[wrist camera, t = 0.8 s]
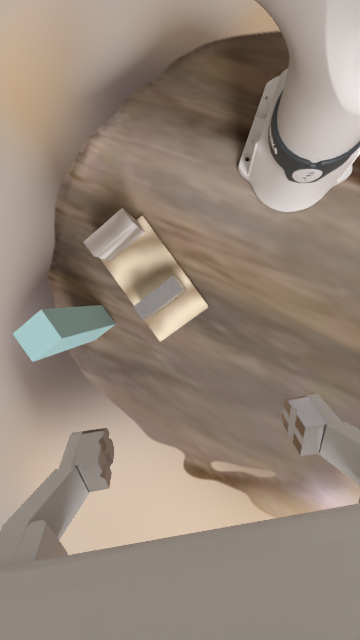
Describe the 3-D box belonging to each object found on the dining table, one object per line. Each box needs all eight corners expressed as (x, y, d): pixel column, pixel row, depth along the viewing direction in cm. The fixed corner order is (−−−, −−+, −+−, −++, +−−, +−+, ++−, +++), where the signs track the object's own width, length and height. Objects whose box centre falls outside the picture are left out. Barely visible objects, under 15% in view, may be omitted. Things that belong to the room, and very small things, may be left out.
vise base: (208, 306, 49) (206, 308, 41) (161, 340, 51) (150, 349, 43) (143, 216, 49) (128, 201, 41) (99, 254, 51) (77, 247, 44)
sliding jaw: (187, 290, 48) (182, 289, 43) (151, 317, 50) (142, 320, 44) (177, 278, 48) (172, 275, 43) (142, 305, 50) (133, 306, 45)
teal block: (115, 324, 52) (61, 338, 35) (94, 340, 54) (32, 361, 36) (101, 304, 52) (41, 309, 35) (81, 321, 54) (12, 333, 36)
